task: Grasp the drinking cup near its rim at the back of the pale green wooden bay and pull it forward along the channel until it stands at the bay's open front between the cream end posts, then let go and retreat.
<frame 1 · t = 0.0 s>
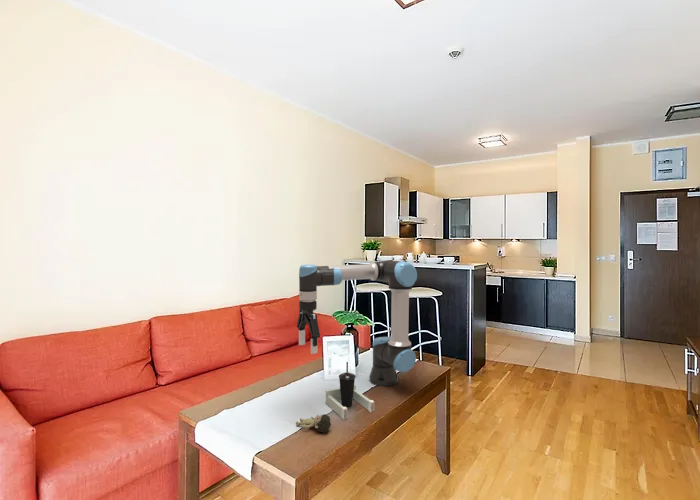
hand: (307, 348, 164), 28 cm above the table, fingers open, 13 cm apart
figurine: (313, 429, 152), on the table
drinking cup: (346, 405, 172), on the table
bay: (350, 407, 169), on the table
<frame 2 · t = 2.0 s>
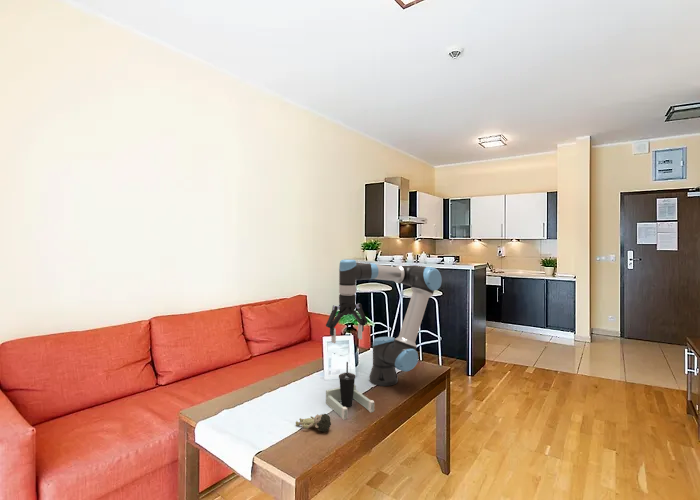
hand: (347, 340, 170), 30 cm above the table, fingers open, 13 cm apart
nothing on the table moved.
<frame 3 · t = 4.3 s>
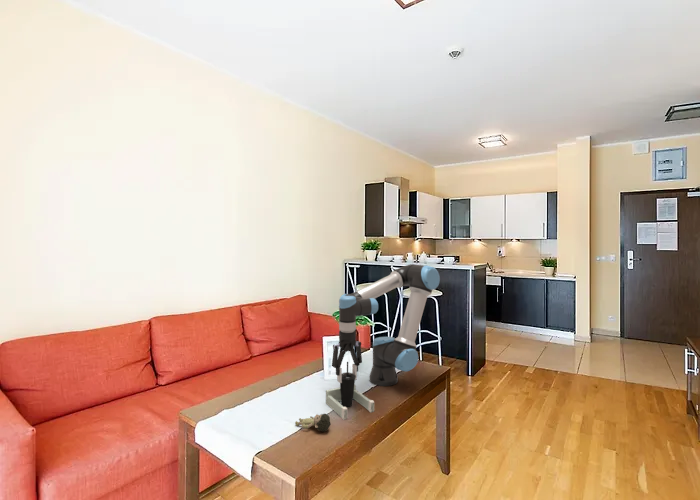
hand: (347, 380, 171), 12 cm above the table, fingers closed on drinking cup, 7 cm apart
drinking cup: (346, 405, 172), on the table, touching gripper
everything else where it was.
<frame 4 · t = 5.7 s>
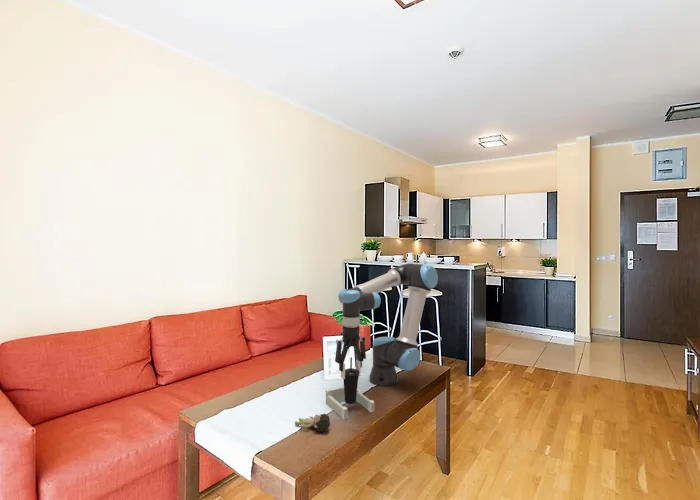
hand: (350, 376, 168), 15 cm above the table, fingers closed on drinking cup, 7 cm apart
drinking cup: (350, 402, 169), point 3 cm above the table, touching gripper
everything else where it was.
when the fingers open (12 cm above the table, at t = 7.6 s): drinking cup stays where it is, on the table.
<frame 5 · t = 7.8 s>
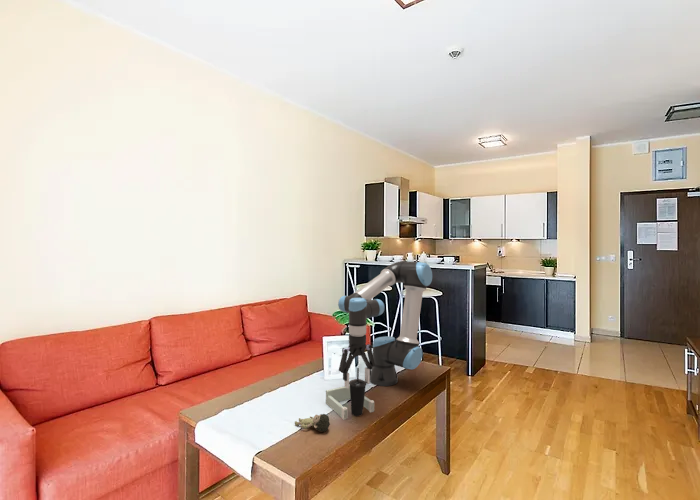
hand: (357, 385, 163), 13 cm above the table, fingers open, 9 cm apart
drinking cup: (357, 413, 164), on the table
everything else where it was.
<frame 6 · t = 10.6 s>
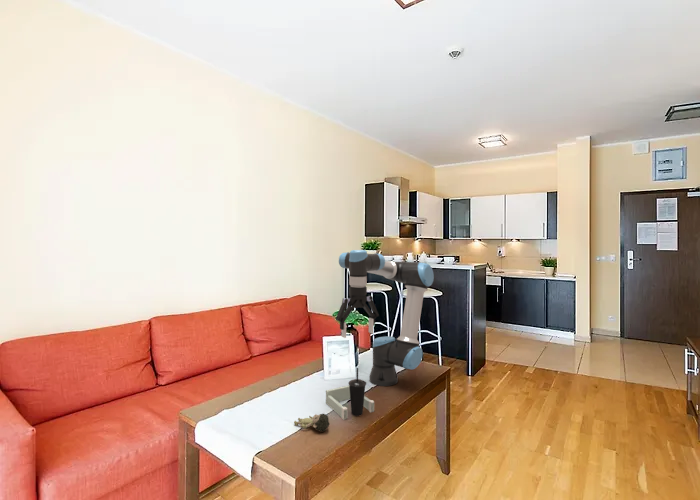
hand: (357, 335, 162), 35 cm above the table, fingers open, 13 cm apart
nothing on the table moved.
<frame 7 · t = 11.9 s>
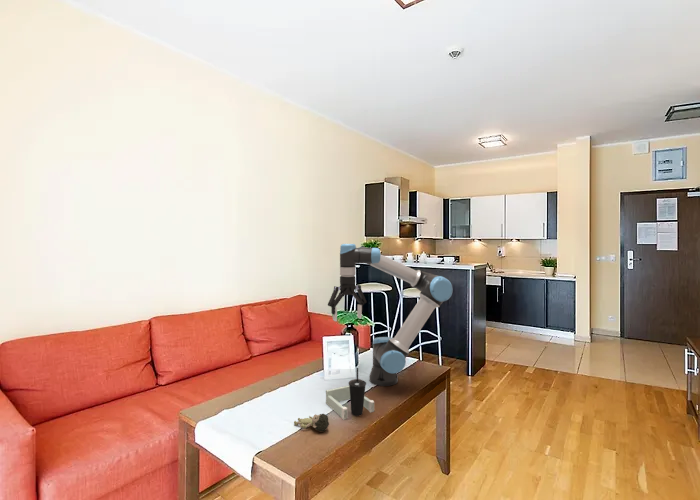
hand: (347, 319, 183), 37 cm above the table, fingers open, 13 cm apart
nothing on the table moved.
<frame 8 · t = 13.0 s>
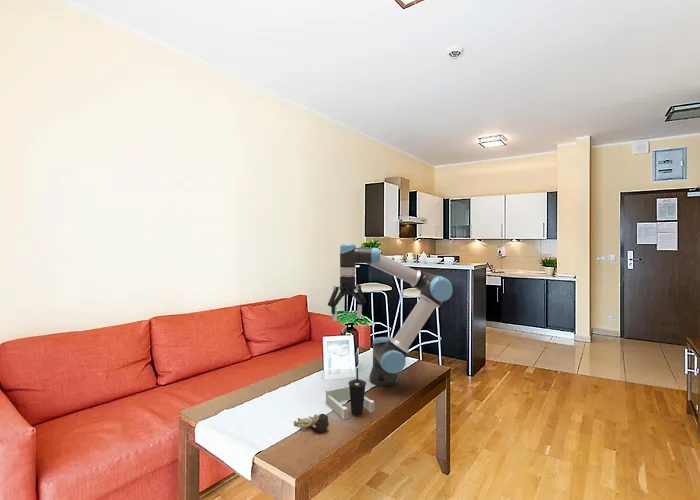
hand: (347, 319, 183), 37 cm above the table, fingers open, 13 cm apart
at the end: drinking cup inside the target area on the bay (1.4 cm from its centre), point 0.0 cm above the bay's base; drinking cup tilted 0°; the gripper is holding nothing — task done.
